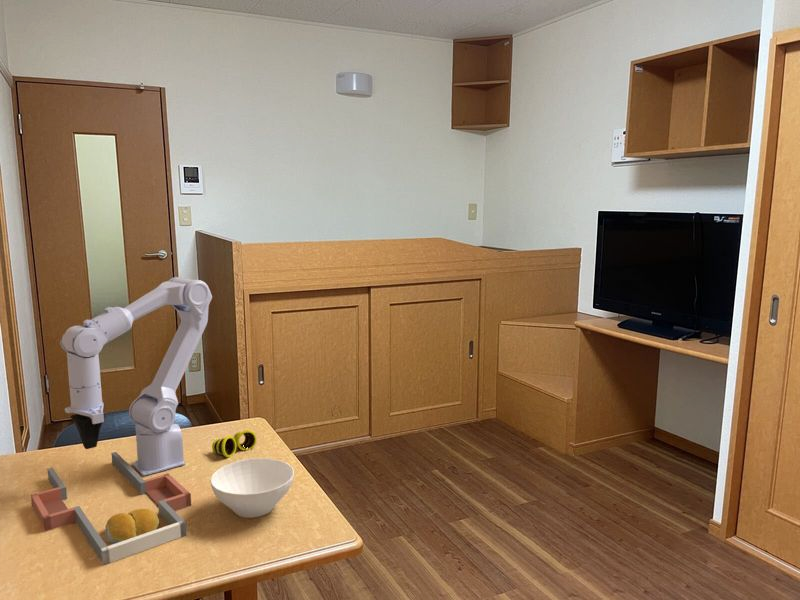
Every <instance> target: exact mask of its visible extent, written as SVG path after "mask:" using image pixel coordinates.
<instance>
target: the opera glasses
mask: <svg viewBox="0 0 800 600" xmlns="http://www.w3.org/2000/svg"><path fill="white" fill-rule="evenodd" d="M242 436H244V441H243V442H241V444H240V439H241V437H242ZM257 439H258V438H257V435H256V433H255V432H254V431H252V430H251V429H250V430H249V429H247V430H246V429H245V430H242V431H238V432H235V434H234V435H233V436H231V435H227V436H225V437H223V438H216V439H215V440H214V441H213V443H212V445H211V448H212V449H211V450H212V452H213V453H214V454H216V455H217V454H218V455H221V456H224V457H226V458H228V457H229V458H231V456H232V457H234V454H236V451H237V448H238V449H240V450H241V451H244V450H248V451H250V450H249V449H251V450H252V449H254V447H255V446H256V444H257V441H258V440H257ZM243 445H244V447H245V448H244V447H243ZM247 447H248V449H246V448H247ZM244 452H245V451H244Z"/></svg>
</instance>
